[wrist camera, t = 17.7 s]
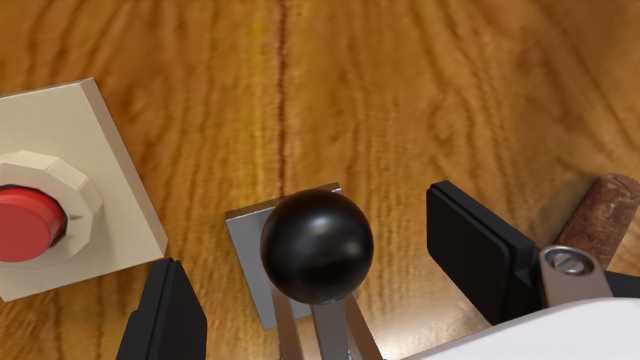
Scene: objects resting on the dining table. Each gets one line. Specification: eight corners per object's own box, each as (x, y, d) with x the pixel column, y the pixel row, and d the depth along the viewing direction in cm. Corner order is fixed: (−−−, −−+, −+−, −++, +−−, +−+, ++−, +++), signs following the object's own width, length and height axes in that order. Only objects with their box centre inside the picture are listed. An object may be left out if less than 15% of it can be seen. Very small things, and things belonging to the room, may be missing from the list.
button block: (-105, 115, 18) (-186, 137, 14) (92, 76, 19) (64, 88, 16) (22, 279, 23) (-13, 325, 20) (168, 239, 25) (159, 275, 21)
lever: (240, 182, 9) (258, 278, 7) (348, 155, 10) (397, 235, 7) (307, 379, 20) (322, 443, 18) (357, 361, 20) (378, 421, 18)
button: (-33, 196, 17) (-58, 214, 16) (43, 179, 18) (26, 193, 16) (8, 251, 19) (-11, 271, 17) (76, 233, 19) (64, 251, 18)
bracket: (224, 212, 25) (225, 387, 13) (337, 182, 26) (432, 314, 14) (262, 320, 31) (287, 513, 19) (354, 290, 32) (432, 452, 20)
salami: (497, 309, 39) (536, 349, 34) (591, 163, 33) (654, 187, 28) (534, 311, 42) (575, 350, 37) (628, 175, 35) (693, 200, 30)
